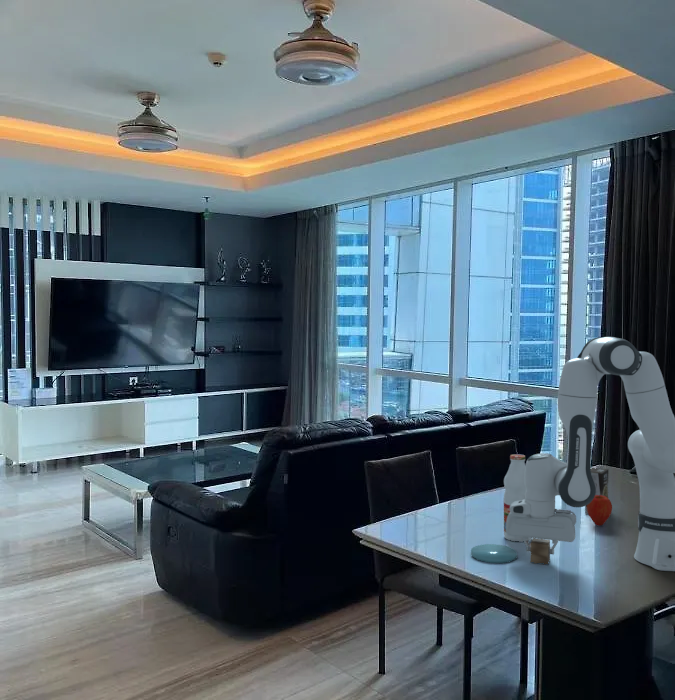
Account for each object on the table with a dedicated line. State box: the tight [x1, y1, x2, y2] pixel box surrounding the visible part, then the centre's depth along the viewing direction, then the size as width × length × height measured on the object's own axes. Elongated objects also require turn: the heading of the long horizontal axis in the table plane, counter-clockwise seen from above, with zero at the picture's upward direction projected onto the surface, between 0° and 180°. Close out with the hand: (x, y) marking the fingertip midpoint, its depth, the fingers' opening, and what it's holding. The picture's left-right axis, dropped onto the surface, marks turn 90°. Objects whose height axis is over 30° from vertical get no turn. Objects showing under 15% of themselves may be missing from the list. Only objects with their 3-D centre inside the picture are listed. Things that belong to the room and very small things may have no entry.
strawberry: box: [587, 495, 613, 527], centre depth 242 cm, size 9×8×11 cm
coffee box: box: [584, 467, 609, 515], centre depth 258 cm, size 9×6×16 cm
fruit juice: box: [503, 453, 533, 543], centre depth 229 cm, size 9×9×28 cm
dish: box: [470, 543, 518, 564], centre depth 213 cm, size 14×14×1 cm
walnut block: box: [529, 538, 551, 565], centre depth 207 cm, size 5×5×6 cm
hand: (540, 552), depth 207 cm, fingers closed on walnut block, 5 cm apart
